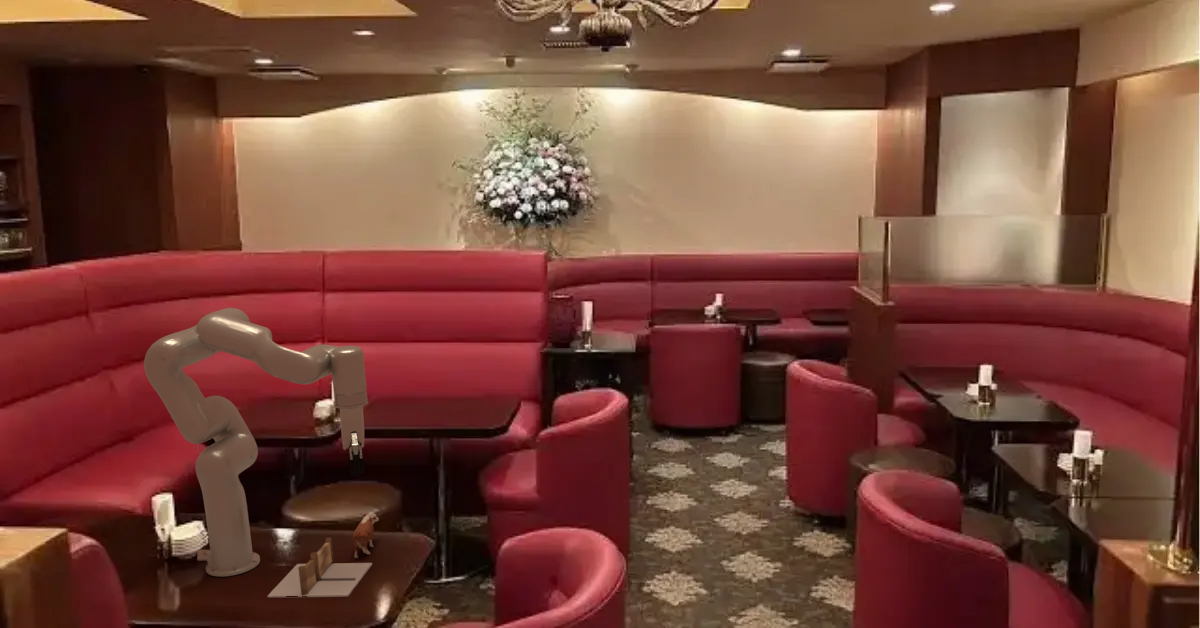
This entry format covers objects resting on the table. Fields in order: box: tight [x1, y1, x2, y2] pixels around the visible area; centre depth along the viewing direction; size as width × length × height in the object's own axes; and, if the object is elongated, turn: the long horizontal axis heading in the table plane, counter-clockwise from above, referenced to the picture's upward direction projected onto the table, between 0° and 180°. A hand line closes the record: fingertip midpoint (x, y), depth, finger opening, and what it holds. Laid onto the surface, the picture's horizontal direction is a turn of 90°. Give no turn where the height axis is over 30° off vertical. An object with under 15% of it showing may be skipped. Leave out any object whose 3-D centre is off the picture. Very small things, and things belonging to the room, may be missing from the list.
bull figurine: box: [351, 511, 380, 559], centre depth 240 cm, size 4×13×8 cm, turn 174°
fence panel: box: [310, 537, 335, 580], centre depth 228 cm, size 11×2×6 cm, turn 175°
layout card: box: [267, 562, 373, 598], centre depth 224 cm, size 19×17×1 cm
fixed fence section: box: [298, 559, 316, 595], centre depth 219 cm, size 2×6×6 cm, turn 175°
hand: (357, 468), depth 226 cm, fingers open, 9 cm apart
